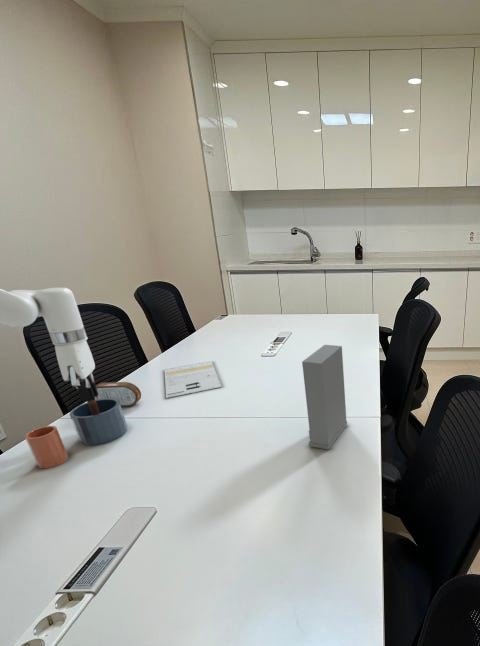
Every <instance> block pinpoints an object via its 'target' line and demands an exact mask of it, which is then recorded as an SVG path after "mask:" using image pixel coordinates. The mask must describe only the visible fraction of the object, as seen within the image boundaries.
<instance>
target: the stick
mask: <svg viewBox="0 0 480 646" xmlns="http://www.w3.org/2000/svg"><path fill="white" fill-rule="evenodd" d="M87 380H88V379H87ZM80 381H83V380H80ZM83 382H84V381H83ZM88 383H89V387H91V385H90V382H89V380H88ZM86 403H88V406H89V409H90V411H91V414H92V416H93V415H97V414H100V412H99V409H98V406H97V403H96V400H92V401H86Z"/></svg>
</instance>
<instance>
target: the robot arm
mask: <svg viewBox="0 0 480 646" xmlns="http://www.w3.org/2000/svg"><path fill="white" fill-rule="evenodd" d="M80 313H81V312H80V310H79V307H78V304H77V301H76V298H75V295H74V293H73V291H72V290H71V289H70V288H68V287H48V288H43V289H34V290H33V289H13V290H9V291H7V290H4V289H2V288H0V324H1V325H4V326H8V327H13V328H23V327H28V326H31V325H32V324H34V322H35V321H36V320H37V318H39V317H42V318H43V320H44V323H45V325H46V329H47V331H48V333H49V337H50V339H51V342H52V345H54V351H55V355H56V360H57V363H58V367H59V370H60V374H61V377H62V379H63V381H64V382H69V381H70V382H71V386H72V387H75V388H76V390H77V392H78V395H79V398H80V400H81V402H82V403H83V402H84V403H85V402H87V401H92V400H95V396H98V395H99V394H98V391H97V388H96V386H97V384H96V383H95V378H94V374H93V372H94V370H95V369H96V363H95V360H94V357H93V354H92V350H91V348H90V346H89V344H88V342H87V341H88V339H89V338H88V334H87V331H86V328H85V326H84V323H83V320H82V317H81V314H80ZM87 379H88V380H89V382H90V385H91V387H89V383H88V380H87ZM81 380H83V381H84V382H83V381H81Z"/></svg>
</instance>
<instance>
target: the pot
mask: <svg viewBox="0 0 480 646" xmlns="http://www.w3.org/2000/svg"><path fill="white" fill-rule="evenodd" d="M96 403H97V406H98V409H99V412H100V414H97V415H93V416H92V414H91V411H90V409H89V406H88V403H87V402H84V403H81V404H79V405H77V406H76V407H74V408H73V409H72V410H71V411H70V412H69V417H70V419H71V422H72V424H73V427H74V429H75V432H76V434H77V435H76V436H77V438H78V439H79V442H80V443H82V444H83V445H85V446H97V445H98V446H99V445H102V444H107V443H110V442H113V441H114V440H117V439H119V438H120V437H122V436H124V435H125V434H126V433H127V430H128V428H129V427H128V424H127V420H126V417H125V413H124V411H123V408H122V407H121V405H120V402H119V401H118V400H117V399H112V398H106V399H98V400H96Z"/></svg>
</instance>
